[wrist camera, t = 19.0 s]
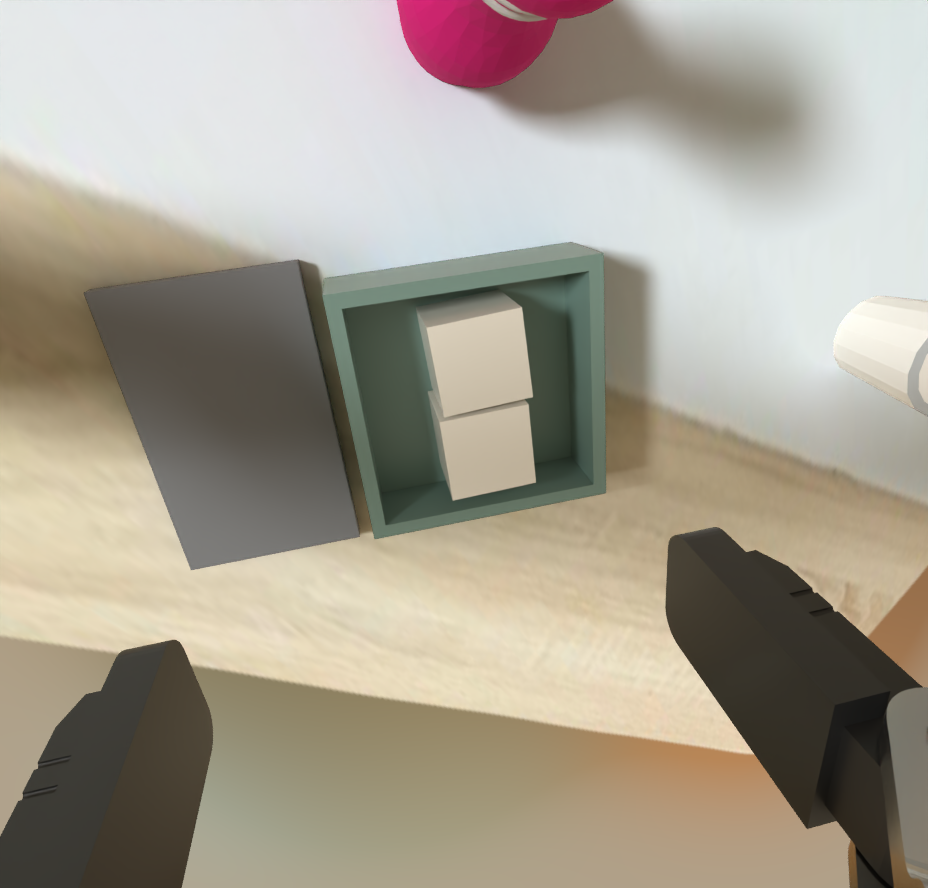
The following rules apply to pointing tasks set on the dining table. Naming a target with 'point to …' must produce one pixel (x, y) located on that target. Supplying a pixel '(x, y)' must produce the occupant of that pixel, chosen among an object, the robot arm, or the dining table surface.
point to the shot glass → (887, 347)
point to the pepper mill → (483, 35)
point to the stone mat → (231, 409)
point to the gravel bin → (407, 384)
